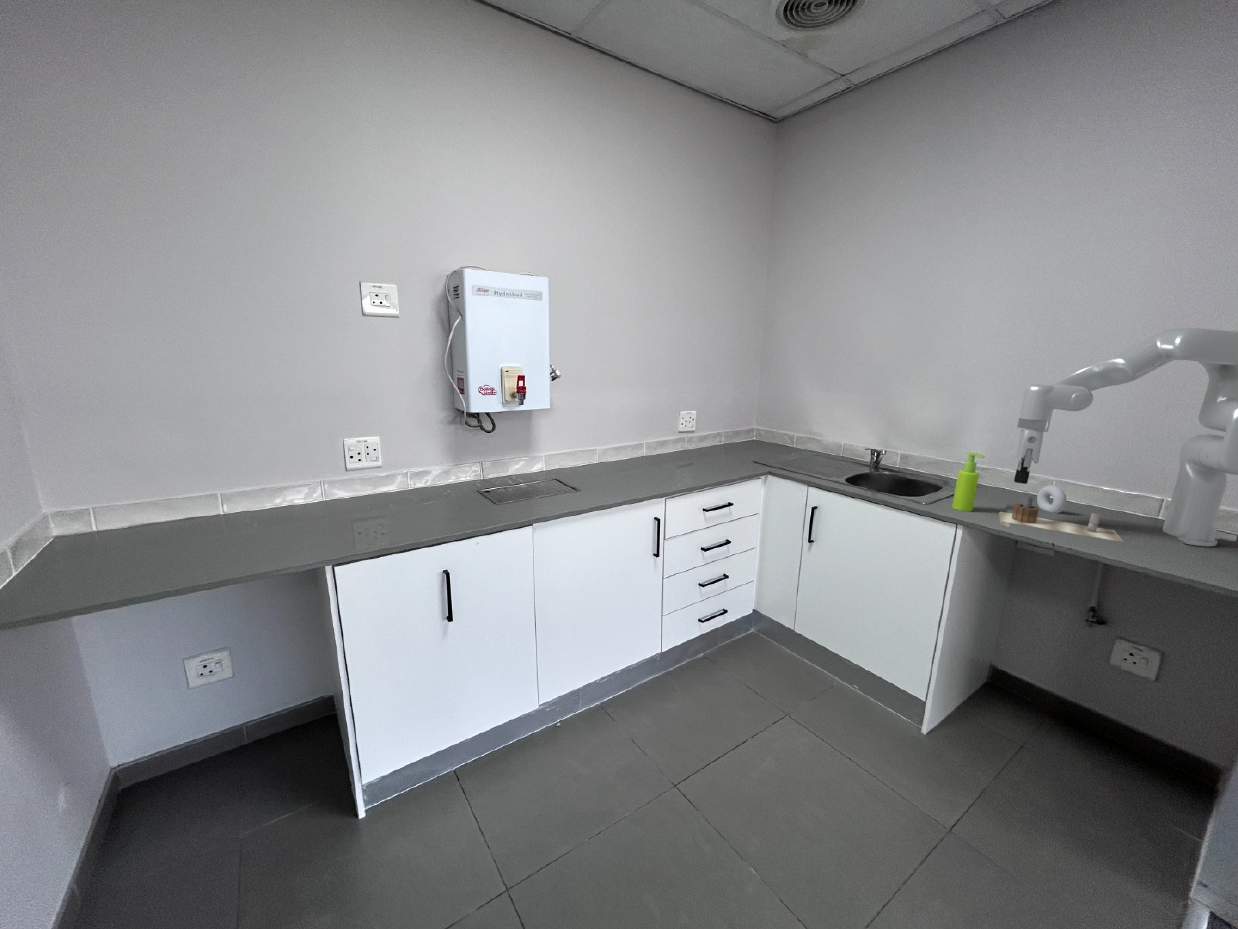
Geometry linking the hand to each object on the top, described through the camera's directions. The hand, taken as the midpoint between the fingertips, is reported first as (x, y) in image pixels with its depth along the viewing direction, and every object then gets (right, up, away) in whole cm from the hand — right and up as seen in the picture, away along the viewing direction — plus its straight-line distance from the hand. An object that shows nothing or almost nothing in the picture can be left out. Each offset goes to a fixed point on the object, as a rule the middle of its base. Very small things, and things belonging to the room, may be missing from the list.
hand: (1020, 482), depth 157 cm
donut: (+20, -11, +13) cm, 27 cm away
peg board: (+9, -15, -3) cm, 17 cm away
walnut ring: (+2, -12, +1) cm, 12 cm away
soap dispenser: (-7, -10, +16) cm, 20 cm away
